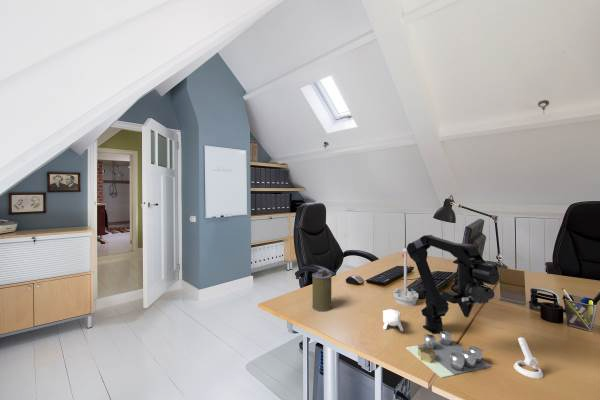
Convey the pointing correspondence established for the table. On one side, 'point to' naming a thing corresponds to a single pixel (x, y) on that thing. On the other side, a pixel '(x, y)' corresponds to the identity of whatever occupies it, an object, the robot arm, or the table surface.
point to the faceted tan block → (426, 354)
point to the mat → (445, 359)
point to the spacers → (457, 360)
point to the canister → (322, 290)
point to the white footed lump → (391, 319)
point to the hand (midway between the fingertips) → (466, 316)
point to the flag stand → (405, 288)
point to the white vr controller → (527, 361)
